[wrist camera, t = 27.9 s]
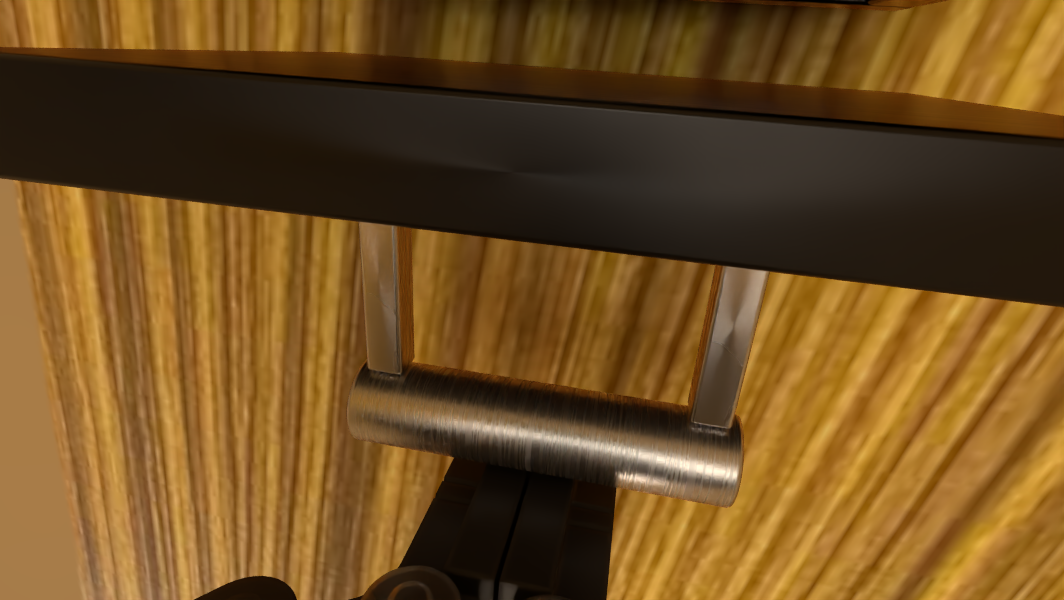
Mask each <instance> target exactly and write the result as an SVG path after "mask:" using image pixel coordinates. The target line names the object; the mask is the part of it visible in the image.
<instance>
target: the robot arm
mask: <svg viewBox="0 0 1064 600" xmlns="http://www.w3.org/2000/svg"><path fill="white" fill-rule="evenodd" d="M615 497H616V487H612V486H606V485H601V484H596V483H590V482H585V481H579V480H574V479H569V478H563V477H558V476H552V475H547V474H542V473H536V472H531V471H525V470H520V469H515V468H509V467H504V466H498V465H493V464H488V463H482V462H477V461H471V460H466V459H461V458H455V457H454V459H453V461H452V463H451V465H450V467H449V469H448V471H447V473H446V475H445V477H444V481H442V483H441V485H440V487H439V489H438V491H437V493H436V497H435V498H434V499H433V501H432V503H431V505H430V507H429V509H428V511H427V513H426V515H425V517H424V519H423V521H422V523H421V525H420V527H419V529H418V531H417V533H416V535H415V537H414V539H413V541H412V543H411V545H410V547H409V548H408V550H407V552H406V554H405V556H404V558H403V560H402V562H401V564H400V566H399V567H398V569H395V570H392V571H390V572H388V573H386V574H385V575H383V576H381V577H380V578H379V579H377V580H376V581H375V582H374V583H373V584H372V585H371V586H370V587H369V588H368V590H367V591H366V592H365V594H364V595H362V596H360V597H357V598H353V599H350V600H606V597H607V586H608V575H609V564H610V553H611V542H612V530H613V519H614V508H615ZM194 600H297V599H296V596H295V594H294V592H293V590H292V589H291V588H290V587H289V586H288V585H287V584H286V583H285V582H283V581H281V580H279V579H276V578H273V577H266V576H253V577H247V578H242V579H239V580H235V581H233V582H230V583H228V584H225V585H223V586H221V587H219V588H217V589H215V590H213V591H211V592H209V593H207V594H205V595H203V596H200V597H198V598H196V599H194Z"/></svg>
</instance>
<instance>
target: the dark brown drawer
mask: <svg viewBox="0 0 1064 600" xmlns="http://www.w3.org/2000/svg"><path fill="white" fill-rule="evenodd" d="M690 1H709V2H728V3H748V4H767V5H786V6H806V7H825V8H844V9H864V10H883V11H898V10H903V9H908V8H912V7H917V6H922V5H927V4H932V3H937V2H943V1H948V0H690ZM0 178H2V179H11V180H19V181H27V182H35V183H44V184H52V185H60V186H68V187H77V188H85V189H93V190H101V191H109V192H118V193H126V194H134V195H142V196H151V197H159V198H167V199H175V200H184V201H192V202H200V203H208V204H216V205H225V206H233V207H241V208H249V209H258V210H266V211H274V212H282V213H291V214H299V215H307V216H315V217H323V218H332V219H340V220H348V221H356V222H359V237H360V253H361V269H362V285H363V301H364V317H365V333H366V348H367V360H366V361H365V362H364V363H363V364H362V365H361V367H360V368H359V370H358V372H357V374H356V376H355V378H354V380H353V383H352V386H351V389H350V393H349V398H348V403H347V425H348V429H349V432H350V433H351V435H352V436H353V437H355V438H356V439H358V440H364V441H369V442H374V443H380V444H385V445H390V446H396V447H401V448H407V449H412V450H417V451H423V452H428V453H434V454H439V455H444V456H450V457H455V458H461V459H466V460H471V461H477V462H482V463H488V464H493V465H498V466H504V467H509V468H515V469H520V470H525V471H531V472H536V473H542V474H547V475H552V476H558V477H563V478H569V479H574V480H579V481H585V482H590V483H596V484H601V485H606V486H612V487H617V488H623V489H628V490H633V491H639V492H644V493H650V494H655V495H660V496H666V497H671V498H676V499H682V500H687V501H693V502H698V503H703V504H709V505H714V506H720V507H725V508H726V507H730V506H732V505H733V503H734V501H735V499H736V497H737V494H738V491H739V487H740V483H741V478H742V471H743V462H744V433H743V427H742V423H741V419H740V417H739V416H738V415H736V414H735V412H736V408H737V404H738V400H739V396H740V392H741V388H742V384H743V380H744V376H745V372H746V368H747V364H748V359H749V355H750V351H751V347H752V343H753V339H754V335H755V331H756V327H757V323H758V319H759V315H760V311H761V307H762V303H763V298H764V294H765V290H766V286H767V282H768V278H769V274H770V272H776V273H784V274H793V275H801V276H809V277H817V278H826V279H834V280H842V281H850V282H858V283H867V284H875V285H883V286H891V287H900V288H908V289H916V290H924V291H933V292H941V293H949V294H957V295H965V296H974V297H982V298H990V299H998V300H1007V301H1015V302H1023V303H1031V304H1039V305H1048V306H1056V307H1064V116H1060V115H1054V114H1047V113H1040V112H1033V111H1026V110H1019V109H1012V108H1005V107H998V106H991V105H984V104H977V103H970V102H963V101H956V100H949V99H942V98H936V97H929V96H922V95H915V94H908V93H894V92H881V91H867V90H853V89H839V88H825V87H811V86H798V85H784V84H770V83H756V82H742V81H728V80H715V79H701V78H687V77H673V76H659V75H645V74H632V73H618V72H604V71H590V70H576V69H562V68H549V67H535V66H521V65H507V64H493V63H479V62H466V61H452V60H438V59H424V58H410V57H396V56H383V55H369V54H355V53H341V52H279V51H213V50H148V49H82V48H16V47H0ZM411 228H414V229H422V230H430V231H439V232H447V233H455V234H463V235H472V236H480V237H488V238H496V239H505V240H513V241H521V242H529V243H537V244H546V245H554V246H562V247H570V248H579V249H587V250H595V251H603V252H612V253H620V254H628V255H636V256H644V257H653V258H661V259H669V260H677V261H686V262H694V263H702V264H710V265H716V266H715V271H714V276H713V280H712V285H711V290H710V295H709V300H708V305H707V310H706V315H705V320H704V325H703V330H702V334H701V339H700V344H699V349H698V354H697V359H696V364H695V369H694V374H693V379H692V383H691V388H690V393H689V398H688V406H685V405H679V404H673V403H666V402H660V401H654V400H648V399H641V398H635V397H629V396H623V395H616V394H610V393H604V392H598V391H591V390H585V389H579V388H573V387H566V386H560V385H554V384H548V383H541V382H535V381H529V380H523V379H516V378H510V377H504V376H498V375H491V374H485V373H479V372H473V371H466V370H460V369H454V368H448V367H441V366H435V365H429V364H423V363H416V362H412V361H413V360H414V316H413V275H412V234H411Z"/></svg>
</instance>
